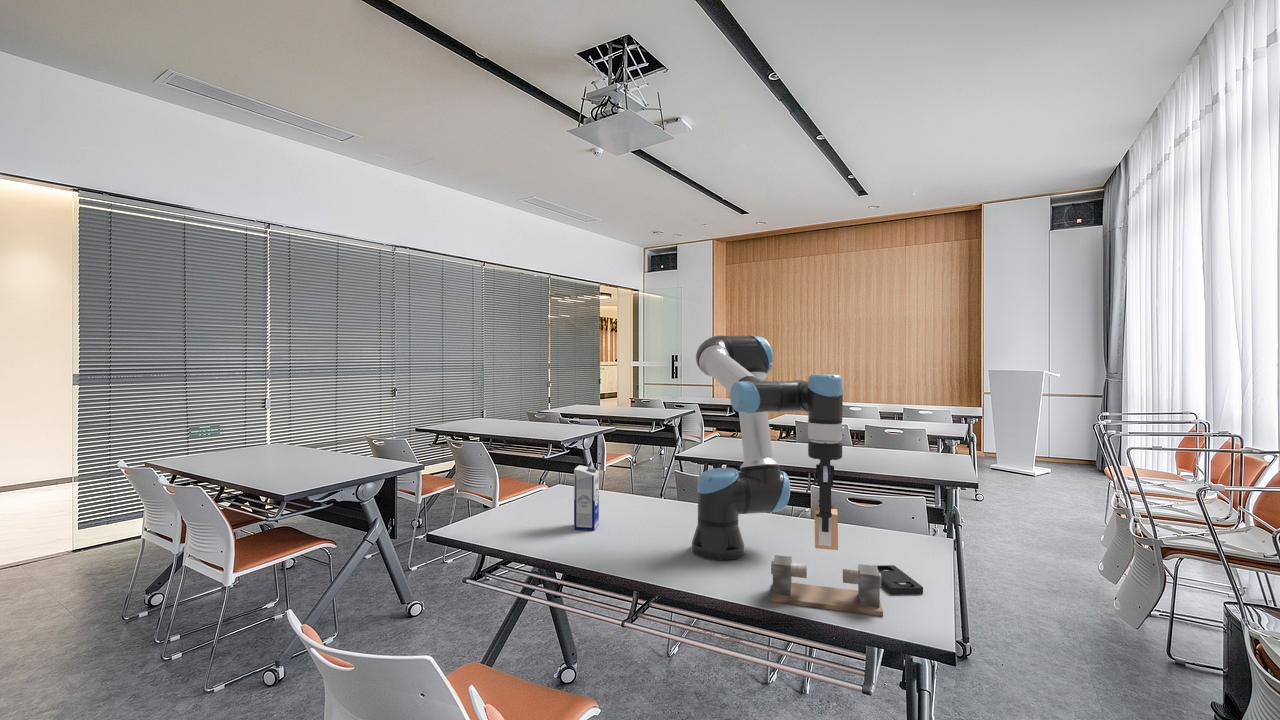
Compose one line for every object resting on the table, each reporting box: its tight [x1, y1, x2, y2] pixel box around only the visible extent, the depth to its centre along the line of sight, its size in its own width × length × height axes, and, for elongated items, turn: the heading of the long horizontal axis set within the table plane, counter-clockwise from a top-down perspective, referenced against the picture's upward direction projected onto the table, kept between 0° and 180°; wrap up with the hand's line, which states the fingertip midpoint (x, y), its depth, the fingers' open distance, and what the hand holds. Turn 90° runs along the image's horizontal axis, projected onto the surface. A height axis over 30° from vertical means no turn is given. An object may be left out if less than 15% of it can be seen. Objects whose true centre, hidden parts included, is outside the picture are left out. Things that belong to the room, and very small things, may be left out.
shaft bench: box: [769, 554, 884, 617], centre depth 129 cm, size 24×10×8 cm, turn 72°
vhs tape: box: [876, 564, 924, 596], centre depth 139 cm, size 14×8×2 cm, turn 2°
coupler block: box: [814, 507, 839, 551], centre depth 129 cm, size 5×5×8 cm
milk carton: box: [573, 464, 600, 532], centre depth 183 cm, size 7×7×20 cm
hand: (824, 541), depth 129 cm, fingers closed on coupler block, 5 cm apart
